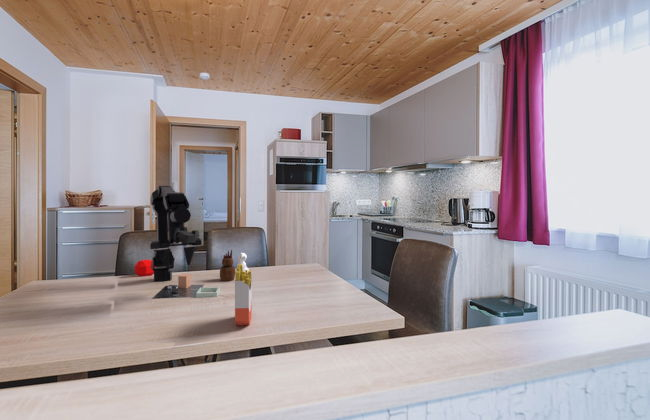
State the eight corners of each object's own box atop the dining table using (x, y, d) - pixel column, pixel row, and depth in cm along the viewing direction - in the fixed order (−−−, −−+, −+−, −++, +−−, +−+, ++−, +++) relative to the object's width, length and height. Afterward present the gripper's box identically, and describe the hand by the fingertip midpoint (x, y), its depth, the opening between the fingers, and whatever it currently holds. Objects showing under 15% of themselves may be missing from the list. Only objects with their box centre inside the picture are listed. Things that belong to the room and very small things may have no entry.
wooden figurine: (237, 280, 159) (237, 248, 158) (232, 284, 153) (232, 250, 152) (223, 280, 160) (222, 248, 159) (218, 283, 154) (217, 250, 153)
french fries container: (253, 315, 115) (252, 262, 114) (250, 328, 105) (250, 270, 104) (239, 315, 115) (238, 262, 114) (234, 329, 104) (234, 270, 103)
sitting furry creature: (231, 275, 169) (230, 251, 168) (248, 273, 172) (248, 250, 171) (231, 279, 160) (231, 254, 159) (250, 278, 163) (250, 253, 162)
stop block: (178, 287, 143) (178, 276, 143) (182, 285, 146) (182, 274, 146) (186, 288, 143) (186, 276, 142) (190, 285, 146) (190, 274, 146)
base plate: (151, 301, 129) (151, 298, 129) (165, 288, 146) (165, 285, 146) (195, 299, 131) (195, 296, 131) (204, 286, 148) (204, 284, 148)
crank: (167, 287, 143) (167, 279, 143) (176, 286, 145) (176, 278, 144) (170, 296, 131) (170, 287, 130) (180, 295, 132) (180, 286, 132)
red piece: (158, 275, 167) (157, 260, 166) (142, 279, 160) (141, 263, 159) (148, 273, 171) (148, 258, 170) (132, 276, 164) (132, 260, 164)
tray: (196, 299, 131) (196, 293, 131) (200, 293, 138) (200, 287, 138) (217, 298, 132) (216, 292, 132) (219, 293, 140) (219, 287, 140)
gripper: (168, 223, 118) (170, 269, 117) (210, 223, 135) (212, 262, 133) (148, 226, 124) (150, 269, 122) (190, 225, 140) (193, 263, 139)
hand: (178, 266), depth 129 cm, fingers open, 9 cm apart
